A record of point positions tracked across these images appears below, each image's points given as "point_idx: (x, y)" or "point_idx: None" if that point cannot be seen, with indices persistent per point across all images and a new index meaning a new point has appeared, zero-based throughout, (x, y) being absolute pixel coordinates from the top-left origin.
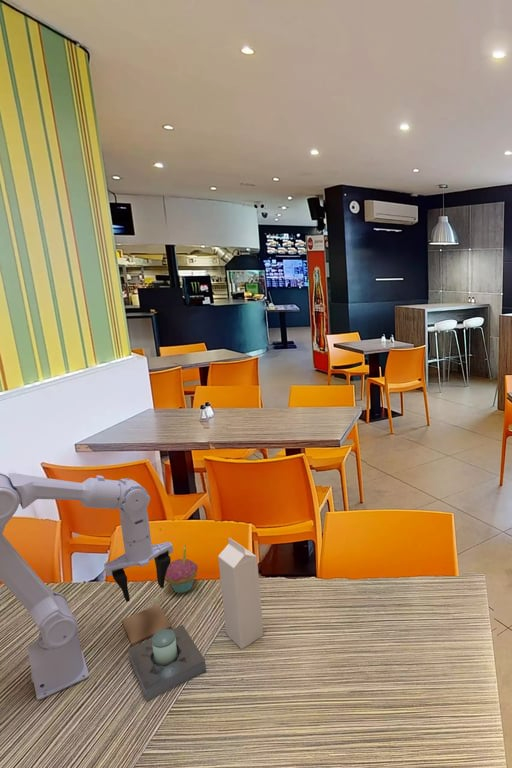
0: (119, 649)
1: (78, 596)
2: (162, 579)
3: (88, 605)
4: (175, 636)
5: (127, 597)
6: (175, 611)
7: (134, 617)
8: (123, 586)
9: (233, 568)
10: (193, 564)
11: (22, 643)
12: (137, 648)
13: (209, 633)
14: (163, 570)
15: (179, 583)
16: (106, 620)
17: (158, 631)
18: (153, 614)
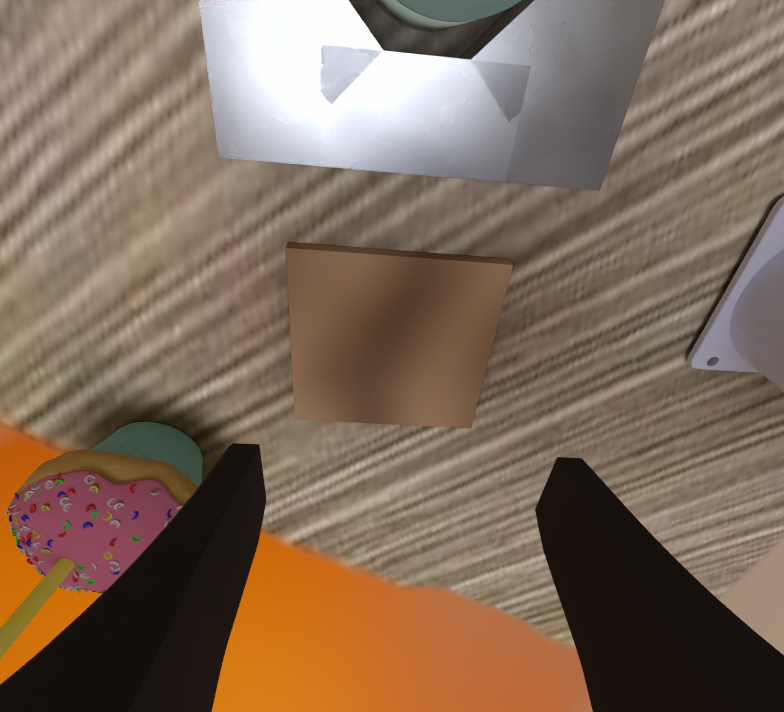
0: (565, 278)
1: (519, 586)
2: (203, 517)
3: (517, 544)
4: (301, 69)
5: (598, 490)
6: (233, 340)
7: (420, 409)
8: (739, 644)
9: None
10: (17, 534)
11: (763, 511)
12: (557, 152)
13: (68, 19)
14: (113, 648)
15: (147, 462)
16: (509, 458)
17: (465, 13)
18: (339, 377)
